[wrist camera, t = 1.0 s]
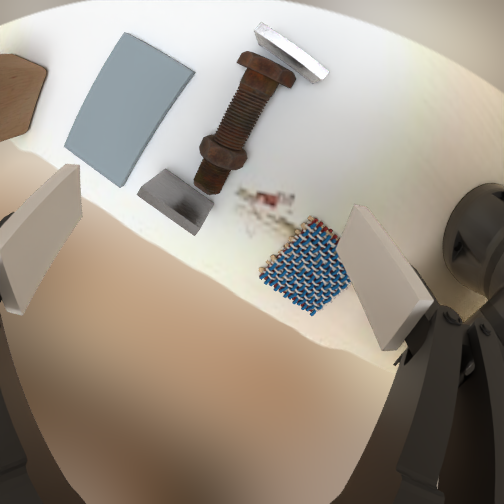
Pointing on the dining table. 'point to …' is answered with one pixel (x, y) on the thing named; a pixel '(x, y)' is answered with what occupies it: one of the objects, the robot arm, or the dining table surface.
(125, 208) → the dining table surface
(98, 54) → the dining table surface
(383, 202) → the dining table surface
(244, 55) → the bolt
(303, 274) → the woven mat
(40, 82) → the wooden block
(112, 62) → the slate pad
